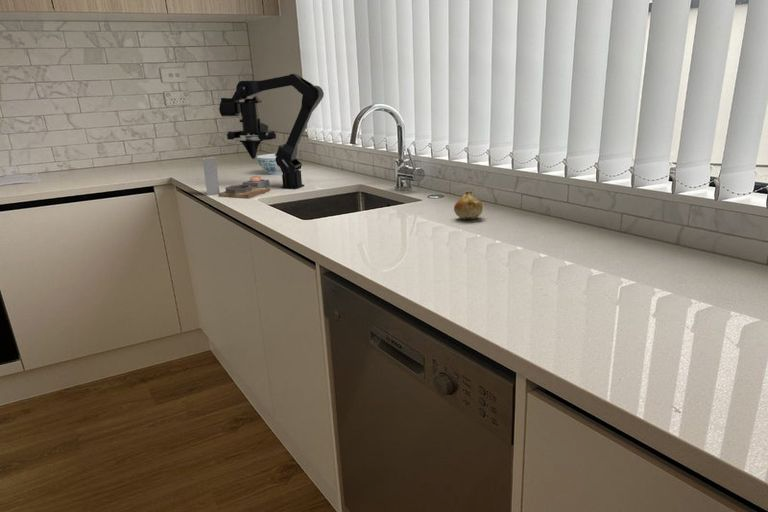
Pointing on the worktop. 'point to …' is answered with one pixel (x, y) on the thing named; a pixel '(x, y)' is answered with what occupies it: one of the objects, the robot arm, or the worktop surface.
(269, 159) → the chinaware
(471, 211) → the onion
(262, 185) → the button housing
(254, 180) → the button
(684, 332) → the worktop surface
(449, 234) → the worktop surface
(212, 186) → the billet
